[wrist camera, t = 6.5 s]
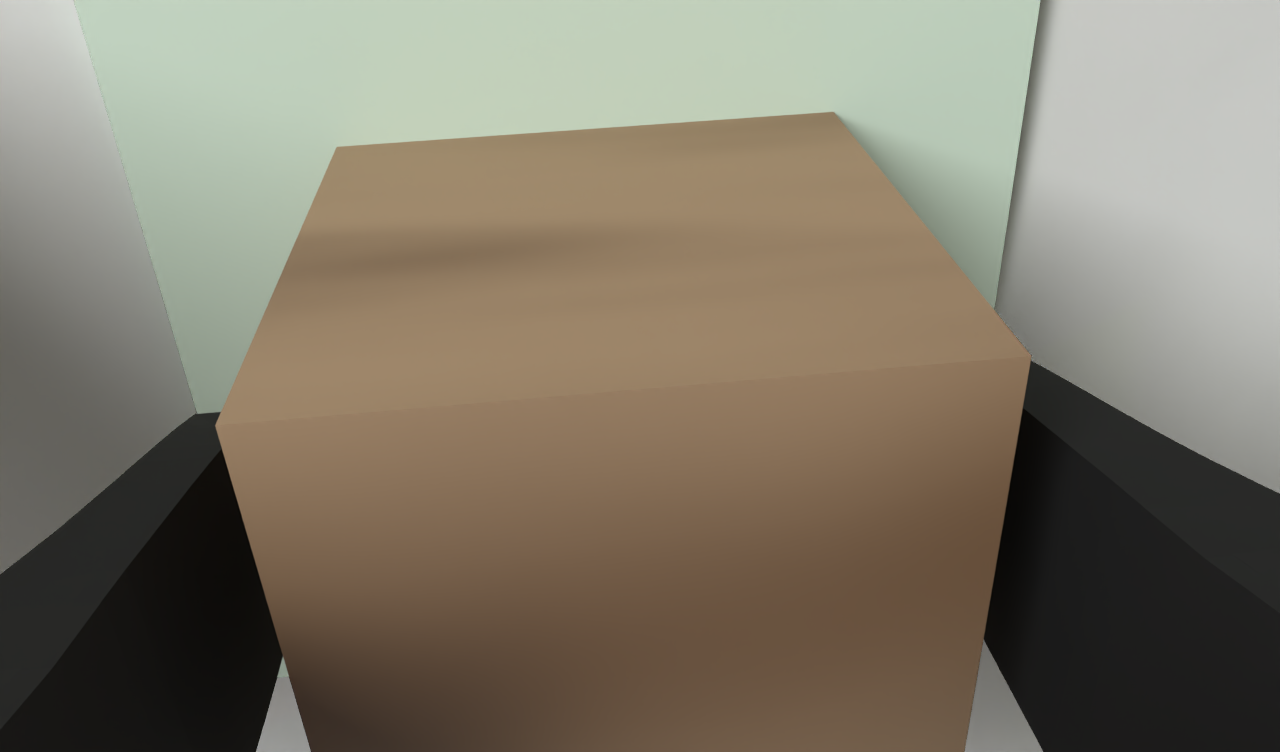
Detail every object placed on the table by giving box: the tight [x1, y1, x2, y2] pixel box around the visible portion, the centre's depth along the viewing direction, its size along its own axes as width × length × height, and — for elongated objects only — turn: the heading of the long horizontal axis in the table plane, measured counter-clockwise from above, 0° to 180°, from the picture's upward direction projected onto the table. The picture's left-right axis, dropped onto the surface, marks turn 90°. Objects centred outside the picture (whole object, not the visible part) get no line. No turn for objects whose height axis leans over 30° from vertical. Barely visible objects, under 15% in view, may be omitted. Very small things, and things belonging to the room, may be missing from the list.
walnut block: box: [215, 112, 1031, 752], centre depth 11 cm, size 6×6×6 cm
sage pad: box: [74, 0, 1040, 678], centre depth 14 cm, size 10×10×1 cm
